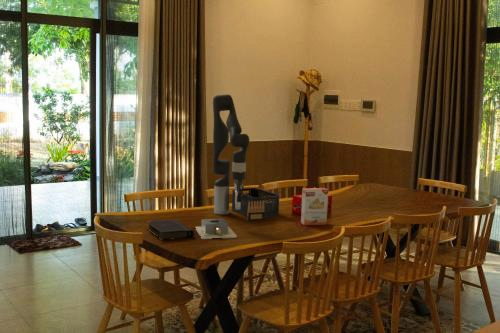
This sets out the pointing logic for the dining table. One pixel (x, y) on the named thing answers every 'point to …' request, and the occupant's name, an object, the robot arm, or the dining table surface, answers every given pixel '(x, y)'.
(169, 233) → the diary
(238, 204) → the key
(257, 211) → the ammunition clip
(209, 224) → the grey stand
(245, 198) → the storage bin
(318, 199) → the cracker box
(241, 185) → the robot arm
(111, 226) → the dining table surface
